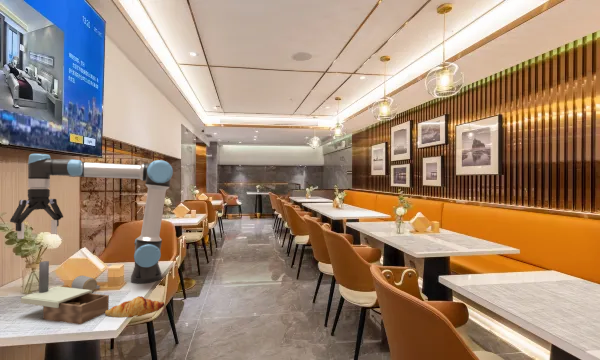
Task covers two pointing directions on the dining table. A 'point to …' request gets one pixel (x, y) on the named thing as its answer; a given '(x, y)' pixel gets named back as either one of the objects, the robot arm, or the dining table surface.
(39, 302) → the lid
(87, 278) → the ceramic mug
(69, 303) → the oak block
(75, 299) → the brown wooden box
